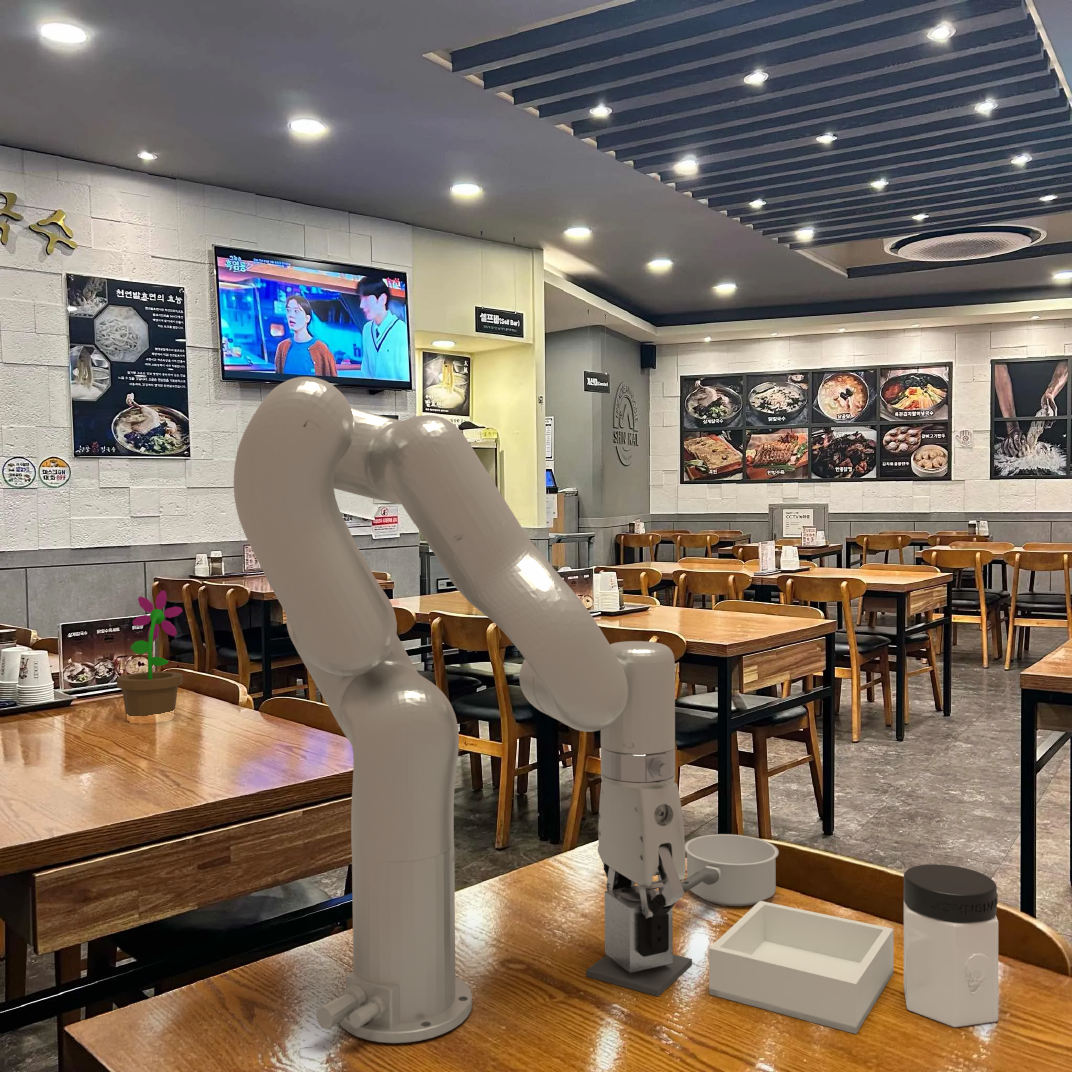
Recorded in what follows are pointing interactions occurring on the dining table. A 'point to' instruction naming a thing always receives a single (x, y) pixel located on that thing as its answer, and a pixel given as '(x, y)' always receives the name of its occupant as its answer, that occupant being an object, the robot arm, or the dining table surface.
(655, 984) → the ball stud
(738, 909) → the dining table surface
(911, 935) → the jar
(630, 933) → the metal block
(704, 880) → the saucepan
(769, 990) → the bin
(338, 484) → the robot arm
